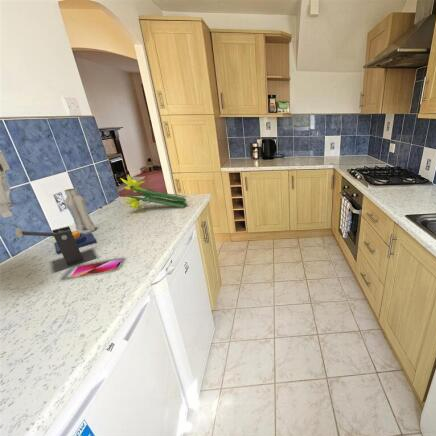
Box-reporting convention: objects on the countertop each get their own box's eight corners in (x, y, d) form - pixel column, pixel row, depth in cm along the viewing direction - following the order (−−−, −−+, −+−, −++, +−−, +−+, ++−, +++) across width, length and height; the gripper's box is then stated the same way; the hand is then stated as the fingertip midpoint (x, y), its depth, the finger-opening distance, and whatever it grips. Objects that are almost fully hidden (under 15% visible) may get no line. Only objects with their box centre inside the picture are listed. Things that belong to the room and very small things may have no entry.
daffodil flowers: (179, 215, 127) (105, 202, 120) (185, 219, 141) (119, 207, 134) (186, 184, 130) (114, 170, 123) (191, 191, 144) (127, 179, 138)
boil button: (67, 242, 93) (64, 237, 92) (65, 238, 96) (63, 233, 95) (81, 237, 96) (79, 233, 95) (79, 234, 98) (78, 230, 98)
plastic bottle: (87, 236, 105) (69, 192, 97) (74, 235, 106) (55, 191, 98) (100, 230, 110) (84, 187, 102) (87, 229, 111) (70, 187, 103)
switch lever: (14, 239, 72) (16, 231, 72) (15, 234, 75) (16, 226, 75) (69, 240, 81) (70, 234, 81) (67, 236, 84) (68, 229, 84)
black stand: (56, 274, 80) (39, 240, 74) (54, 264, 85) (38, 231, 80) (97, 260, 87) (84, 228, 82) (92, 251, 92) (80, 221, 87)
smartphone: (73, 266, 82) (124, 258, 86) (75, 269, 82) (124, 260, 86) (62, 279, 75) (116, 269, 79) (63, 282, 76) (117, 272, 79)
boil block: (58, 256, 90) (54, 247, 88) (56, 247, 96) (52, 238, 95) (97, 244, 98) (94, 235, 96) (93, 237, 104) (89, 228, 103)
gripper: (-29, 163, 71) (-5, 207, 76) (-42, 172, 57) (-11, 225, 63) (2, 159, 75) (24, 202, 80) (-3, 168, 61) (23, 217, 67)
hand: (8, 212), depth 71 cm, fingers open, 8 cm apart
